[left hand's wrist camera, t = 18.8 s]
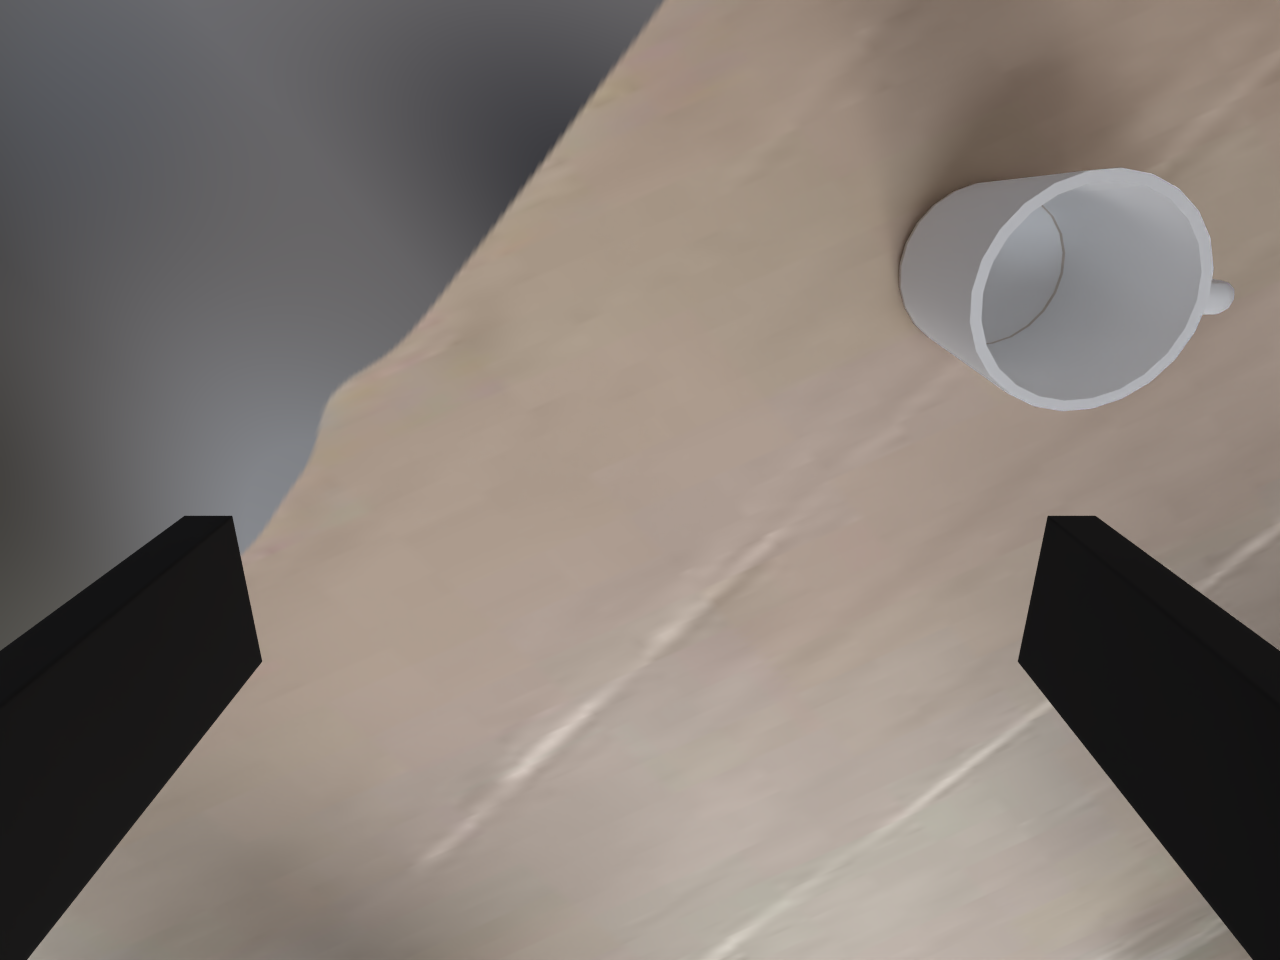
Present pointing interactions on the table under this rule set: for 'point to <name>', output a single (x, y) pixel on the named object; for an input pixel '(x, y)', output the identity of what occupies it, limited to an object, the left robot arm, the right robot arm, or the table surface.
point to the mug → (1063, 282)
